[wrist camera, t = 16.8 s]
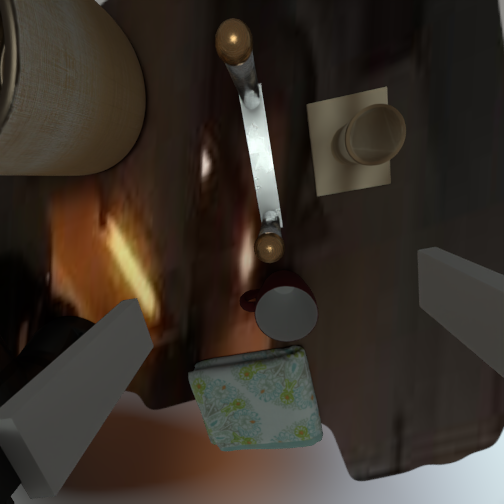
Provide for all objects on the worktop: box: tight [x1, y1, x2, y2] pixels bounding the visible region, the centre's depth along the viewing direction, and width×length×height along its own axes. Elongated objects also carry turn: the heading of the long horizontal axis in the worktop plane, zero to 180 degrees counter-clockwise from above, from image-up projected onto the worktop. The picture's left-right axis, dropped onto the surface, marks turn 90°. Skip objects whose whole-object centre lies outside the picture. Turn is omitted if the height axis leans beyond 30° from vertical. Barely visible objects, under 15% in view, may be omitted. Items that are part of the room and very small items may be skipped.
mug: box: [240, 270, 318, 342], centre depth 38 cm, size 10×8×10 cm
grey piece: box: [215, 18, 285, 263], centre depth 29 cm, size 3×19×18 cm, turn 10°
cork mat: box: [306, 87, 391, 196], centre depth 36 cm, size 10×12×1 cm
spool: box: [331, 104, 406, 166], centre depth 31 cm, size 6×6×9 cm
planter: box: [0, 0, 146, 176], centre depth 28 cm, size 22×22×20 cm
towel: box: [188, 345, 323, 451], centre depth 48 cm, size 18×21×5 cm
